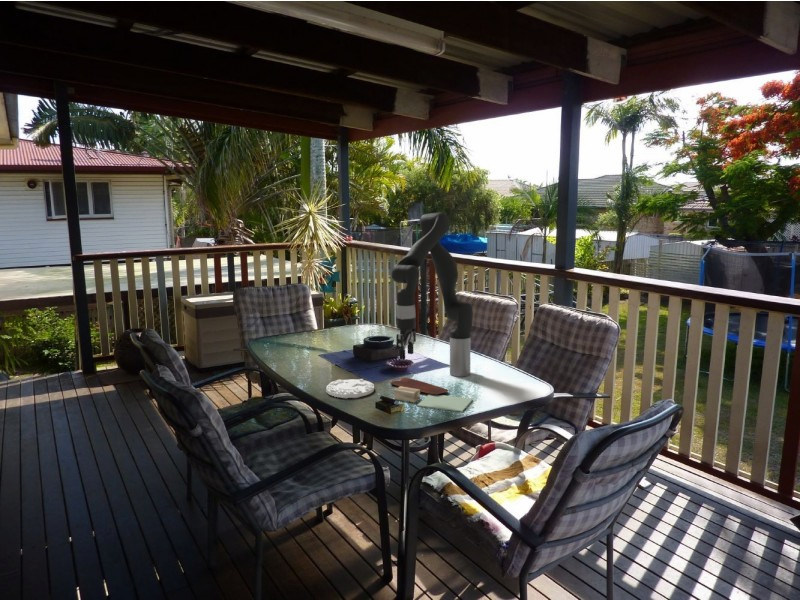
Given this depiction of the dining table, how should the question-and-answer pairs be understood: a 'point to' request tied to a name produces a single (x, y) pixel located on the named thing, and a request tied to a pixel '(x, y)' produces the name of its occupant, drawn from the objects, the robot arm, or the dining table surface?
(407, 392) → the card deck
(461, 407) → the mat
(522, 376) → the dining table surface
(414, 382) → the wooden tablet
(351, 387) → the embossed medallion
